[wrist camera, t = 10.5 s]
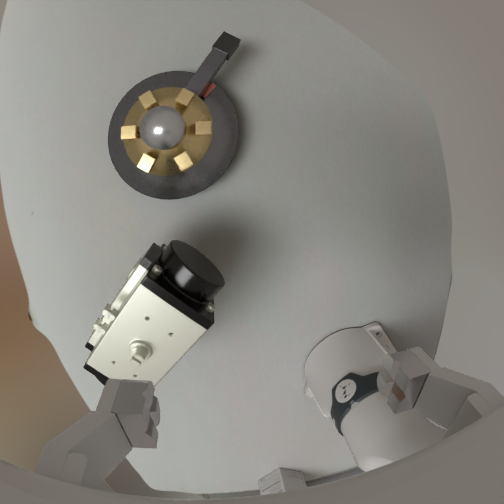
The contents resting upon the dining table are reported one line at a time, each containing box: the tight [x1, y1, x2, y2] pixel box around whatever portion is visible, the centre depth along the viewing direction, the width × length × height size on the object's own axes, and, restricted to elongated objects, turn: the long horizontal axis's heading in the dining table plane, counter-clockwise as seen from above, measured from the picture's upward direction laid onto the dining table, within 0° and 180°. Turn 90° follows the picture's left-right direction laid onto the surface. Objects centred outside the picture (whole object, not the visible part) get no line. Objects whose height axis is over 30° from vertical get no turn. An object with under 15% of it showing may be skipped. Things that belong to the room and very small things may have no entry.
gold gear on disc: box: [108, 71, 239, 199], centre depth 30 cm, size 16×16×10 cm
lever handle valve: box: [121, 32, 240, 176], centre depth 28 cm, size 18×10×4 cm, turn 149°
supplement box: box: [258, 468, 307, 495], centre depth 54 cm, size 9×9×15 cm
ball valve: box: [84, 240, 225, 387], centre depth 32 cm, size 18×8×18 cm, turn 139°
